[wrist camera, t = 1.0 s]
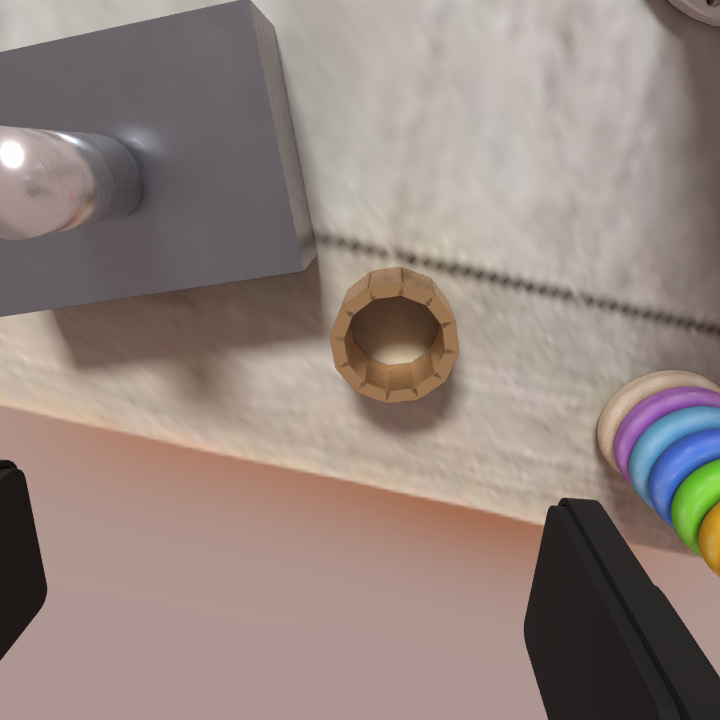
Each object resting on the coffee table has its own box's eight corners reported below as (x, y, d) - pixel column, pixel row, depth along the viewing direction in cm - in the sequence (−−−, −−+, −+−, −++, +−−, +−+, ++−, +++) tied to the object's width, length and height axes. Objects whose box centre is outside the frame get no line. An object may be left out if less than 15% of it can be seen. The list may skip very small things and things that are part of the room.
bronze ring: (444, 260, 31) (451, 274, 27) (455, 367, 33) (463, 394, 29) (329, 277, 32) (321, 293, 28) (348, 381, 34) (343, 408, 30)
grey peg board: (273, 26, 27) (188, -69, 16) (317, 254, 31) (273, 307, 20) (-35, 90, 29) (-303, 47, 18) (45, 296, 33) (-133, 365, 22)
